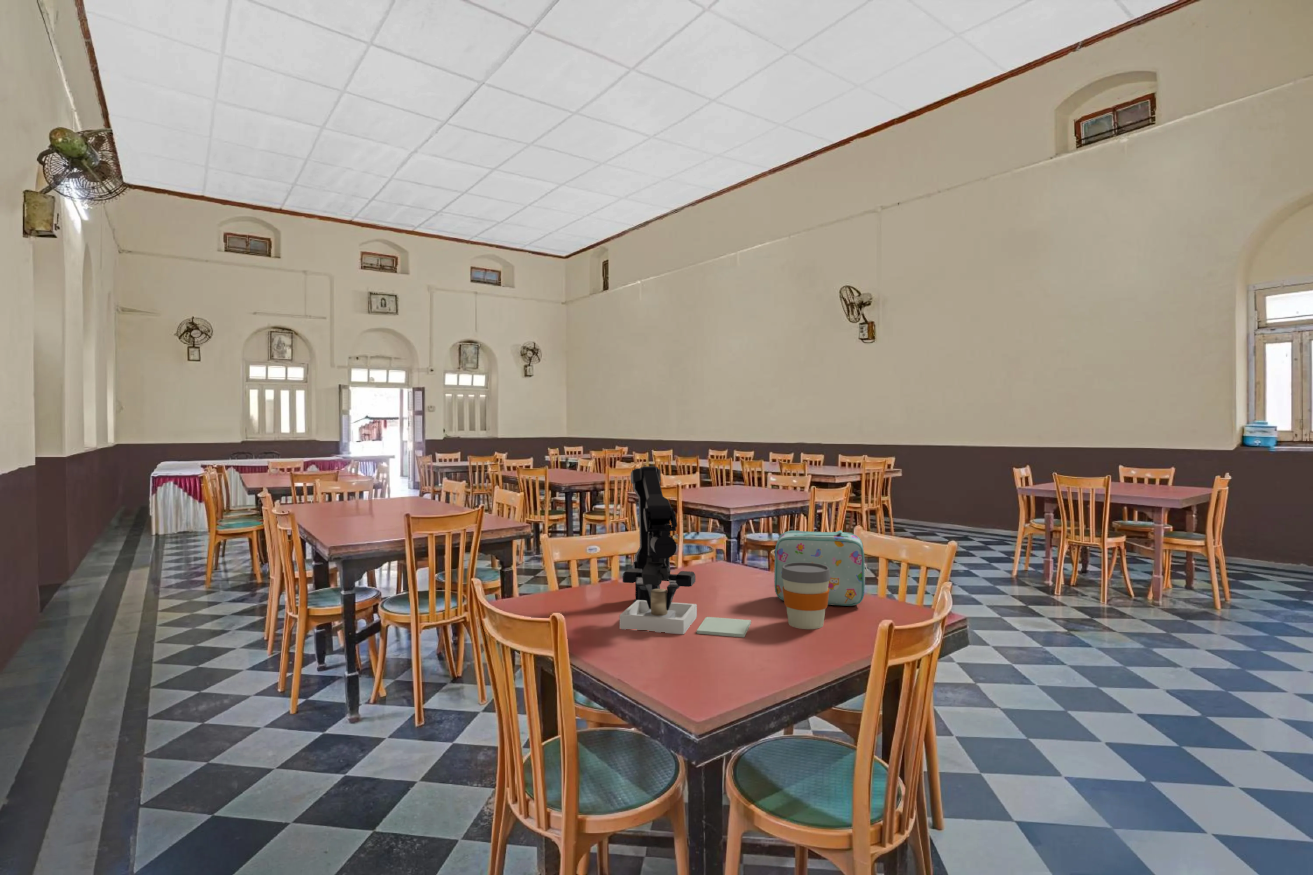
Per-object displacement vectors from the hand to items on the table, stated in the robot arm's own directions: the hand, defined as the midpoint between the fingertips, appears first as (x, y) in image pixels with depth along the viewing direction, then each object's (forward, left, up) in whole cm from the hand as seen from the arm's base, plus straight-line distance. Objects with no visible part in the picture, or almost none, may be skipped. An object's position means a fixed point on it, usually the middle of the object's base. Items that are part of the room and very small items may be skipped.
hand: (659, 609), depth 176 cm
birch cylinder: (0, 0, -1) cm, 1 cm away
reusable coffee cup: (+38, +9, -4) cm, 39 cm away
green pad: (+18, 0, -4) cm, 18 cm away
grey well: (0, 0, -4) cm, 4 cm away
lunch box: (+41, +32, -4) cm, 52 cm away
